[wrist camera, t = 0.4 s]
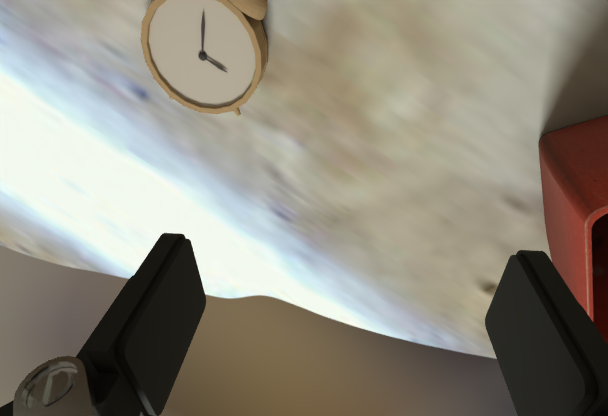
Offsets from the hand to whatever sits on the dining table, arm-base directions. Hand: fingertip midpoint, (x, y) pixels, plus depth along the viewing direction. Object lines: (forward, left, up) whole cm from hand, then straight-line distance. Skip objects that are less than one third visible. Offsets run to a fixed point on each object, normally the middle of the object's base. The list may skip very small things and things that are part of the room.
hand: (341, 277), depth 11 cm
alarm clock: (-2, -13, -30) cm, 32 cm away
